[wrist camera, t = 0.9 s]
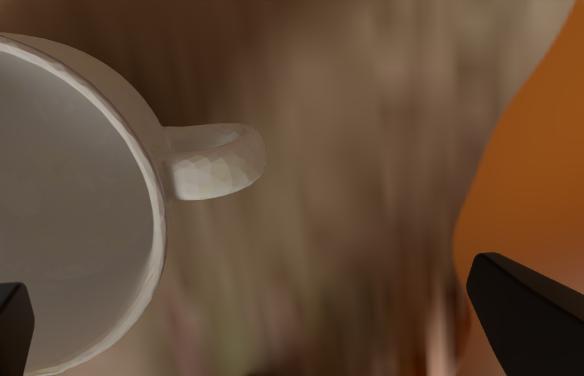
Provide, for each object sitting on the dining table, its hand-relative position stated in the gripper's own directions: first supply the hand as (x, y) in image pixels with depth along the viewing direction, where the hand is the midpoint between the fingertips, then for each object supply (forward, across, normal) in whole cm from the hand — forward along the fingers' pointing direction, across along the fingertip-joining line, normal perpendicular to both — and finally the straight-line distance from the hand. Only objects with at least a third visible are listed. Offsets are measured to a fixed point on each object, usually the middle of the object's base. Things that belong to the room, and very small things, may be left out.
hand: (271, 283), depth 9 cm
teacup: (+13, +6, +3) cm, 14 cm away
